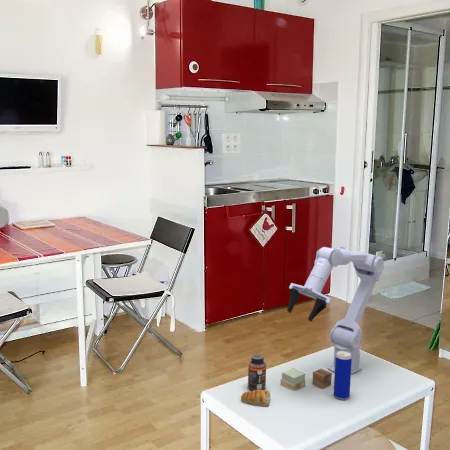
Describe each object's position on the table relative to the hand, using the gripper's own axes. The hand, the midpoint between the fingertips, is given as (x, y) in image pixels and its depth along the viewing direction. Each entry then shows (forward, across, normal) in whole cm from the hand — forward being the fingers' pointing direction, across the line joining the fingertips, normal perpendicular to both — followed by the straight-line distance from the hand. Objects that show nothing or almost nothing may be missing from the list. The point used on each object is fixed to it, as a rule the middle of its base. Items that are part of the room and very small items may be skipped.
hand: (299, 315), depth 176 cm
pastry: (+30, -3, +8) cm, 31 cm away
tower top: (+17, +1, +19) cm, 25 cm away
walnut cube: (+13, +9, +25) cm, 30 cm away
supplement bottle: (+25, -8, +15) cm, 30 cm away
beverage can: (+15, +18, +21) cm, 31 cm away
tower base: (+19, +1, +21) cm, 28 cm away
